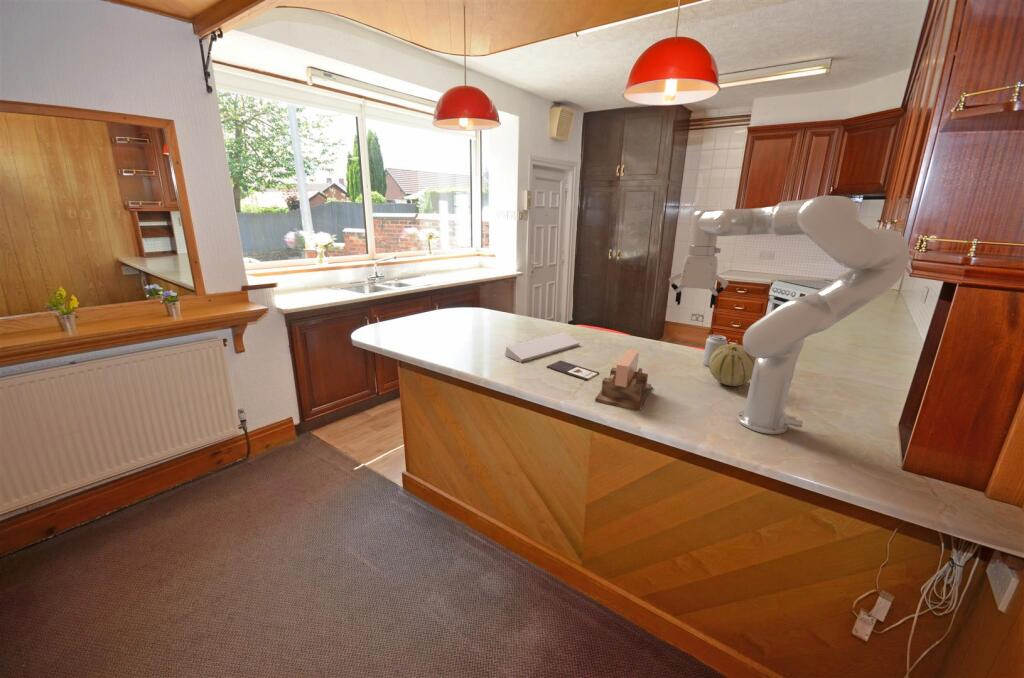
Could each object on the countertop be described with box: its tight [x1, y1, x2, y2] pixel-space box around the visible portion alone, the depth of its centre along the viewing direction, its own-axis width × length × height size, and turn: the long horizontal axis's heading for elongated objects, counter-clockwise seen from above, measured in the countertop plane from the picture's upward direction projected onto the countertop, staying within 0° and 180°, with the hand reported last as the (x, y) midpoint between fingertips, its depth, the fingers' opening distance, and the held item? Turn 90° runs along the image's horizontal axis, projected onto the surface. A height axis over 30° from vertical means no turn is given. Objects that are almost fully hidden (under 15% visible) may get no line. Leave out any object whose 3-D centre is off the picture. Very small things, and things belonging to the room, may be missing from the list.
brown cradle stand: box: [594, 367, 652, 412], centre depth 138 cm, size 14×20×8 cm
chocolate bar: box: [545, 360, 600, 381], centre depth 158 cm, size 9×1×18 cm
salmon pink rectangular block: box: [615, 349, 640, 387], centre depth 136 cm, size 4×16×7 cm, turn 152°
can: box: [702, 334, 728, 368], centre depth 162 cm, size 8×8×12 cm
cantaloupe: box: [708, 343, 756, 387], centre depth 145 cm, size 15×15×15 cm
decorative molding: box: [504, 331, 580, 363], centre depth 179 cm, size 34×5×10 cm
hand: (694, 305), depth 133 cm, fingers open, 9 cm apart
